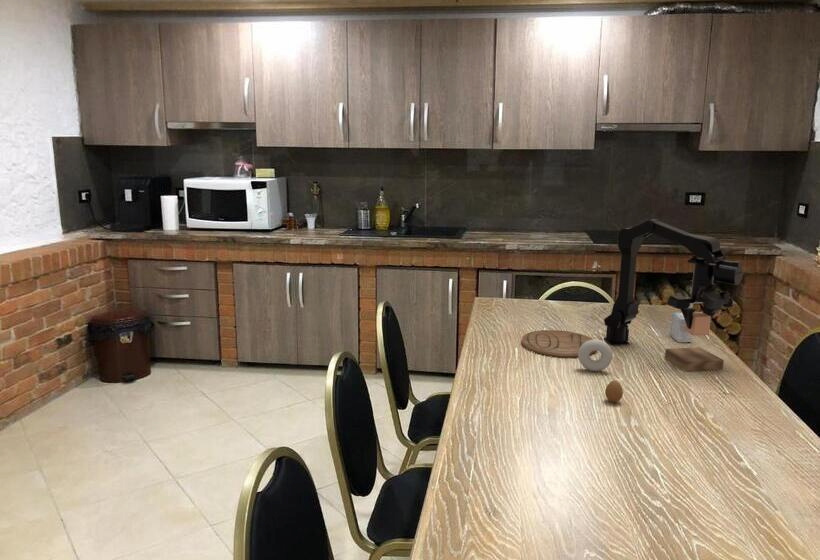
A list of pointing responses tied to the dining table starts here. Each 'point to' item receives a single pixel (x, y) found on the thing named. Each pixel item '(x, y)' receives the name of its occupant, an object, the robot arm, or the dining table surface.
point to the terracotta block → (699, 324)
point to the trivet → (555, 343)
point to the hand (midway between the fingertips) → (697, 328)
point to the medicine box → (679, 328)
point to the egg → (614, 391)
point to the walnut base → (694, 359)
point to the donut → (592, 346)
